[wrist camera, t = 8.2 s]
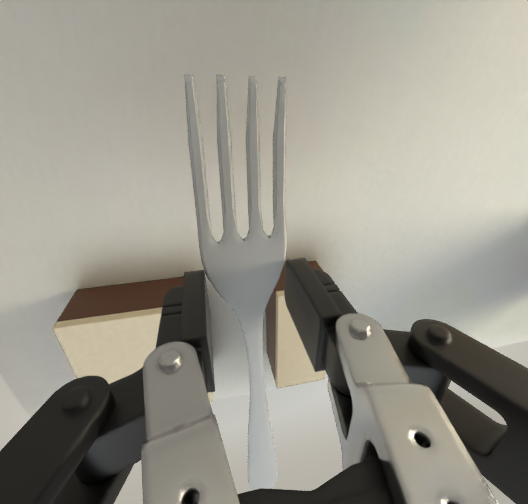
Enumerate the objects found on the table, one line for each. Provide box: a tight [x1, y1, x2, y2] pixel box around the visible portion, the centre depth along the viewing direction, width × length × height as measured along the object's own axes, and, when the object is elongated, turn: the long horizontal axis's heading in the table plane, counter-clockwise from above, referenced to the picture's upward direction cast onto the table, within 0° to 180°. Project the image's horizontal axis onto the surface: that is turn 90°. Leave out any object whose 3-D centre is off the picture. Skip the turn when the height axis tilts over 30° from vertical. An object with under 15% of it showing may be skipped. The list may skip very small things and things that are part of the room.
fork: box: [184, 75, 287, 490], centre depth 13 cm, size 3×24×2 cm, turn 2°
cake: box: [53, 277, 213, 402], centre depth 20 cm, size 8×9×4 cm
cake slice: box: [266, 261, 326, 389], centre depth 22 cm, size 4×9×4 cm, turn 1°
